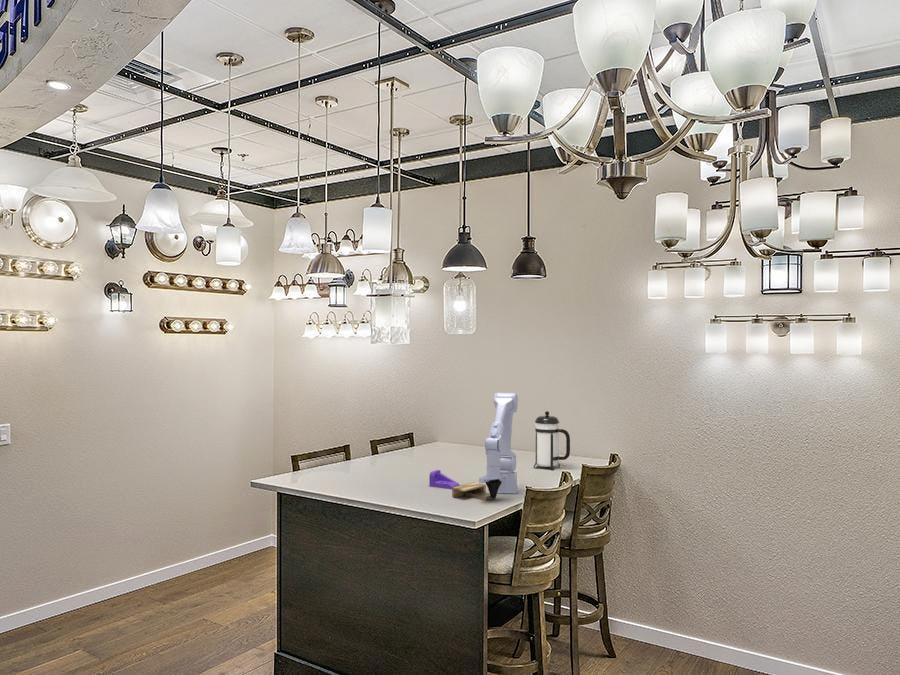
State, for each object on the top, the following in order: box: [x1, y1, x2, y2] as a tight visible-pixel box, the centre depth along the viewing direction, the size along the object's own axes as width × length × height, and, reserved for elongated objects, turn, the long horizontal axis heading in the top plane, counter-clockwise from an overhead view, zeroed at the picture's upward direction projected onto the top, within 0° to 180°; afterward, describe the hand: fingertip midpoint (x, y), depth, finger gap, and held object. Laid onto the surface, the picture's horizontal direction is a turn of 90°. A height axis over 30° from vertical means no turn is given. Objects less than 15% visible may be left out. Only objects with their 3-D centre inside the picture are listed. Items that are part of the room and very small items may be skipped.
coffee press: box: [533, 411, 571, 471], centre depth 350 cm, size 17×16×30 cm
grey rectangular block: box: [464, 490, 497, 502], centre depth 284 cm, size 12×6×2 cm, turn 45°
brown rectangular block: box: [451, 481, 487, 498], centre depth 286 cm, size 7×14×4 cm, turn 136°
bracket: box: [428, 469, 460, 490], centre depth 304 cm, size 12×7×7 cm, turn 62°
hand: (493, 497), depth 279 cm, fingers closed
